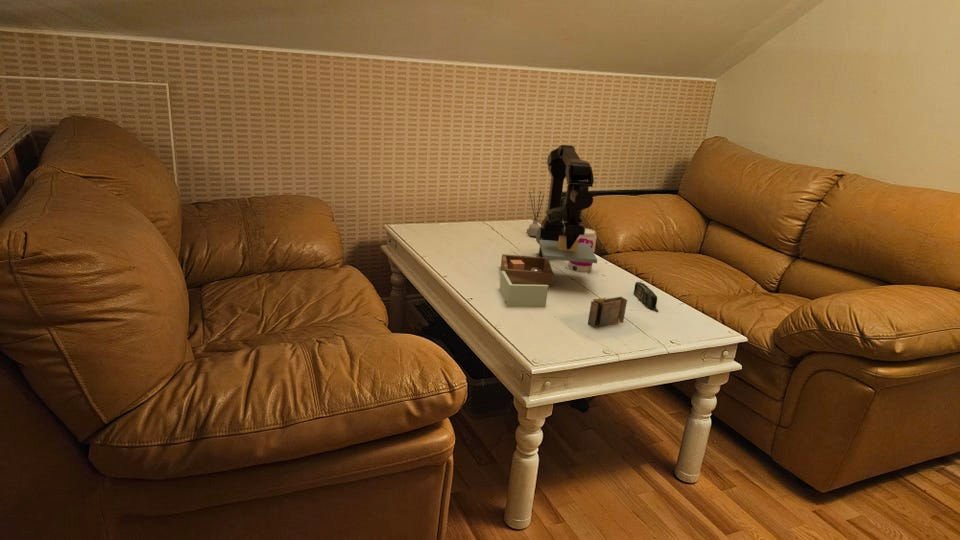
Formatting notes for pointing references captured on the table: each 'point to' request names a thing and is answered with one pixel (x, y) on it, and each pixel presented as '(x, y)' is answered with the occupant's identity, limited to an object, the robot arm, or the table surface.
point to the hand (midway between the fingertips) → (567, 247)
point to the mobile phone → (645, 295)
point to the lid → (567, 251)
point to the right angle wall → (522, 293)
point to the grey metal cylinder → (536, 269)
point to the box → (528, 270)
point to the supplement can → (591, 240)
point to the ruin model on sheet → (607, 311)
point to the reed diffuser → (534, 221)
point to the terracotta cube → (516, 265)
